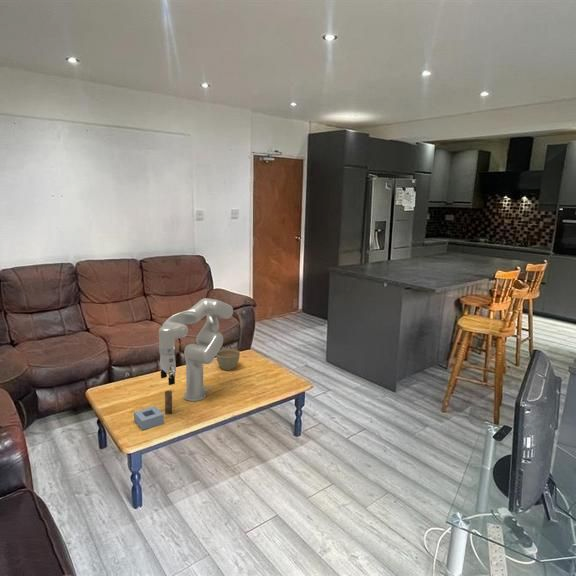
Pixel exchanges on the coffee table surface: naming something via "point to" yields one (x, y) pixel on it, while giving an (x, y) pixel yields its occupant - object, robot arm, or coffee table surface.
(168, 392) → the peg
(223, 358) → the planter bowl
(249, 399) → the coffee table surface
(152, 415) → the socket block
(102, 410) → the coffee table surface
